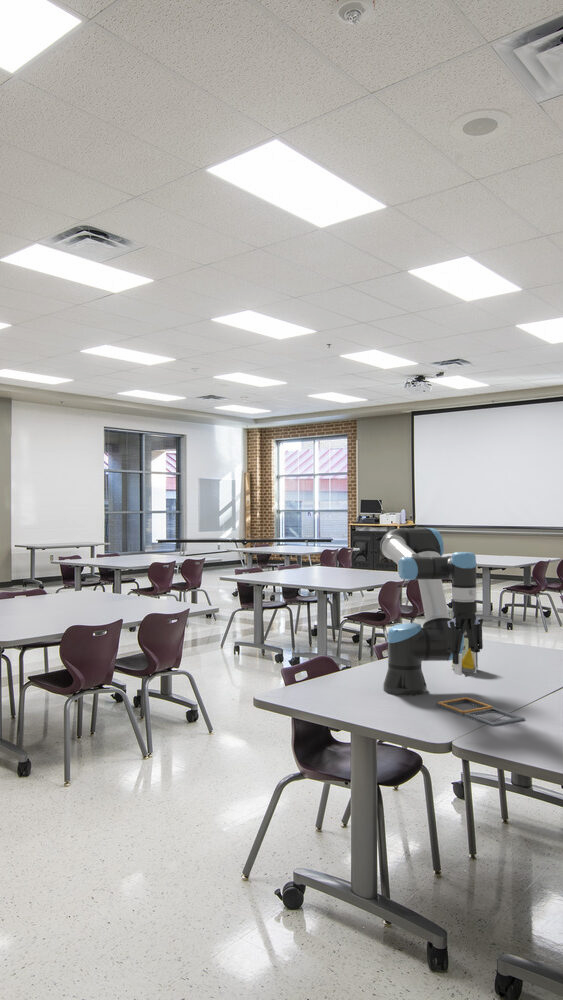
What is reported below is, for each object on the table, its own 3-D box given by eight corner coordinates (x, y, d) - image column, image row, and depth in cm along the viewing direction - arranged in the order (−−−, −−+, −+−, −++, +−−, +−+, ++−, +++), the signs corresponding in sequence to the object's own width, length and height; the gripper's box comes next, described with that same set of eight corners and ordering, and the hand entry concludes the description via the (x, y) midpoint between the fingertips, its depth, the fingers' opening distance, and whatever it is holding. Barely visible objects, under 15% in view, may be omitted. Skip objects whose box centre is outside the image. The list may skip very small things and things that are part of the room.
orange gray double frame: (436, 706, 219) (436, 702, 219) (466, 700, 225) (466, 696, 225) (492, 727, 197) (492, 723, 197) (524, 721, 203) (524, 717, 203)
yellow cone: (460, 672, 220) (465, 643, 219) (476, 677, 217) (481, 648, 215) (453, 676, 216) (458, 646, 214) (469, 682, 213) (474, 652, 211)
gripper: (450, 603, 209) (450, 678, 209) (494, 599, 218) (495, 672, 217) (434, 600, 216) (435, 673, 216) (477, 597, 225) (478, 667, 224)
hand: (465, 673), depth 216 cm, fingers closed on yellow cone, 5 cm apart
